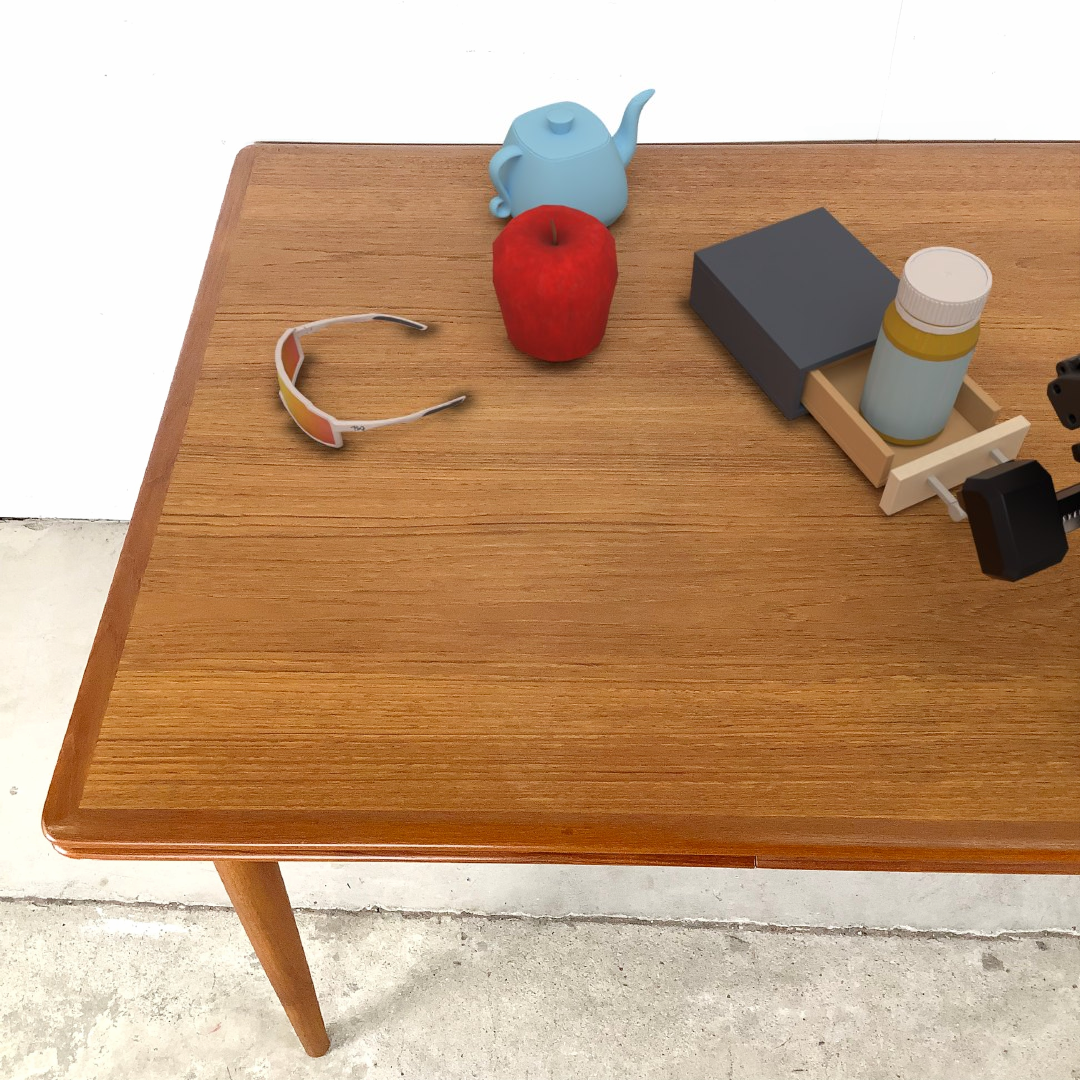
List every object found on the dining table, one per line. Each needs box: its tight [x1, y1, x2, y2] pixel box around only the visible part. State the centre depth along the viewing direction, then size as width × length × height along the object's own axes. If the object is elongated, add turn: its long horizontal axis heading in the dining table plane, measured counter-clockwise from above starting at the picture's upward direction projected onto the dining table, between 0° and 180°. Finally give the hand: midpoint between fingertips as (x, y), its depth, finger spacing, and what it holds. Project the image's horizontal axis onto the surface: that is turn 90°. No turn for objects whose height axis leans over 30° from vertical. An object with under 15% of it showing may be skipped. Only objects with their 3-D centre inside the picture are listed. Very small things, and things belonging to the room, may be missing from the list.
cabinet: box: [688, 206, 901, 422], centre depth 99 cm, size 17×14×6 cm
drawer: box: [800, 346, 1032, 523], centre depth 90 cm, size 20×12×4 cm, turn 26°
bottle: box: [859, 246, 993, 446], centre depth 86 cm, size 7×7×15 cm
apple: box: [491, 205, 619, 363], centre depth 96 cm, size 11×10×14 cm
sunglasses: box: [274, 312, 467, 449], centre depth 98 cm, size 14×15×5 cm
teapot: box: [488, 88, 656, 228], centre depth 109 cm, size 13×11×18 cm
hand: (1017, 474), depth 73 cm, fingers open, 9 cm apart
